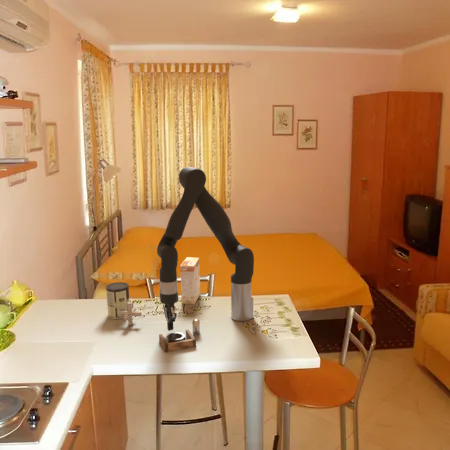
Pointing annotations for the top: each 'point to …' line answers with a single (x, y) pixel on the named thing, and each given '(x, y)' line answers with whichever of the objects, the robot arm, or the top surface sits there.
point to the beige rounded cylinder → (196, 326)
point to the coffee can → (117, 299)
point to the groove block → (178, 343)
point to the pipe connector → (129, 313)
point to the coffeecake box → (190, 280)
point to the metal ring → (175, 337)
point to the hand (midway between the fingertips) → (170, 329)
